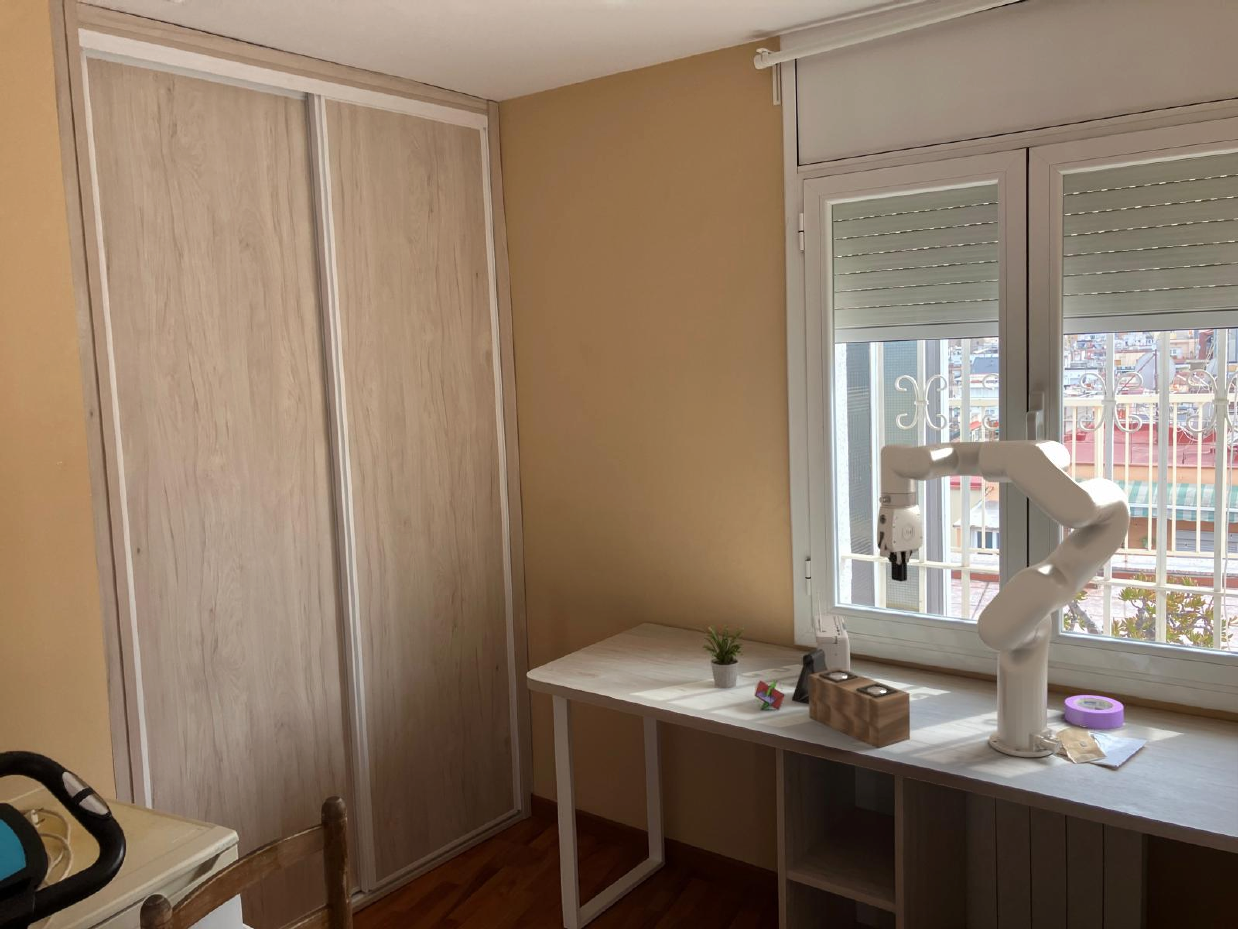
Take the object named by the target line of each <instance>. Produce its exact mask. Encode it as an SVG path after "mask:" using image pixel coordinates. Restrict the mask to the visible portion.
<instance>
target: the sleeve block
mask: <svg viewBox="0 0 1238 929" xmlns="http://www.w3.org/2000/svg"><path fill="white" fill-rule="evenodd" d="M831 673H845V674H847V675H848V677H847V678H843V679H839V680H837V679H834V678H832V677H829V675H830V674H831ZM808 679H809V704H808V716H809V718H810V719H811V720H815V721H817V722H818V723H822V724H823V725H825V726H828V727H830V728H833V729H834V730H837V731H838V732H841V733H843V734H846V735H848V736H850V737H853V738H855V739H857V740H859V741H861V742H863V743H866V744H868V745H871V746H873V747H875V748H877V749H881V748H884V747H887V746H891V745H894V744H898V743H900V742H905V741H907V740H910V739H911V731H910V730H911V724H910V723H911V718H910V717H911V716H910V714H911V712H910V707H911V706H910V703H911V702H910V701H911V700H910V693H909V692H906V691H905V690H901V689H899V688H895V687H893V686H890V685H889V684H888V685H887V684H884V683H882V682H879V681H877V680H874V679H871V678H868V677H865V676H863V675H859V674H857V673H854V672H851V671H850V672H849V671H847V670H844V669H841V668H835V669H831V670H827V671H823V672H818V673H814V674H810V675H808ZM870 687H882V688H885V689H886V690H887V692H884V693H881V694H877V695H876V694H874V693H871V692H869V691H867V689H868V688H870Z"/></svg>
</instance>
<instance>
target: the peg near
mask: <svg viewBox="0 0 1238 929" xmlns="http://www.w3.org/2000/svg"><path fill="white" fill-rule="evenodd" d="M867 691H869V692H871V693H874V694H876V695H877V694H881V693H884V692H887V690H886V689H885V688H882V687H870V688H868V689H867Z"/></svg>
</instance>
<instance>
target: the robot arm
mask: <svg viewBox="0 0 1238 929" xmlns="http://www.w3.org/2000/svg"><path fill="white" fill-rule="evenodd" d="M1070 465H1071V457H1070V454H1069V452H1068V449H1067V448H1066V447H1065V446H1064V445H1062V444H1061V443H1060V442H1057V441H1054V440H1050V439H1049V440H1048V439H1037V440H1036V439H1035V440H1034V439H1033V440H1031V439H1030V440H1029V439H1028V440H1026V439H1025V440H1024V439H1022V440H990V441H989V440H986V441H960V442H959V441H958V442H957V441H956V442H955V441H954V442H938V443H931V444H926V445H925V444H924V445H919V446H913V445H911V444H904V443H903V444H902V443H897V444H896V443H895V444H887V445H886V444H885V445H884V446H883V447H881V449H880V497H879V498H878V500H879V502H880V506H879V510H878V516H877V527H876V529H877V530H876V543H877V548H878V549H879V557H883V558H887V560H888V562H889V563H890V564H891V569H890V570H891V580H893V581H897V582H901V583H902V582H906V581H908V563H910V559H911V556H912V555H913V554H914V553H917V552H918V551H919V548H921V547H922V546H923V544H924V543H923V542H924V540H923V539H924V538H923V522H922V514H921V510H920V507H919V504H917V492H916V491H917V487H916V486H917V481H919V482H920V481H921V482H923V481H930V480H931V481H932V480H935V479H939V478H946V477H953V476H954V477H964V476H966V477H982V479H983V480H984V481H986V482H988V483H1013V485H1014V486H1015V487H1016V488H1017V489H1019V491H1020V492H1021V493H1023V495H1025V496H1026V497H1027V498H1028V499H1029V500H1030V501H1031V502H1032V503H1033V504H1035V506H1036V507H1038V508H1039V509H1040V510H1041V511H1042V512H1043V513H1044V514H1045V515H1046V516H1048V517H1049V519H1051V520H1052V521H1054V522H1055V523H1057V524H1058V525H1060V526H1061V527H1064V528H1066V529H1072V531H1070V533H1069V534H1068V535H1067V536H1066V537H1065V538H1064V539H1063V540H1062V541H1061V542H1060V543H1059V544H1058V546H1057V547H1056V548H1055V549H1054V550H1053V552H1051V553H1050V554H1049V556H1048V557H1047V558H1045V559H1044V560H1042V561H1041V562H1038V563H1035V564H1034V565H1030V566H1028V567H1025V568H1024V569H1022V570H1020V571H1018V572H1016V574H1014V575H1013V576H1012V577H1011V578H1010V579H1009V580H1008V581H1007V583H1006V584H1005V585H1004V586H1003V587H1002V588H1001V589H1000V590H999V592H997V593H996V595H995V596H993V598H992V599H991V601H990V602H989V603H988V604H987V605H986V606H985V607H984V609H983V610H982V611H981V613H980V615H979V617H978V620H977V624H976V630H977V635H978V637H979V640H980V642H981V643H982V644H983V645H984V646H985V647H986V648H988V649H989V650H990V651H994V652H997V653H998V654H997V670H996V671H997V672H996V674H997V678H996V679H997V680H996V682H997V683H996V684H997V686H996V688H997V690H996V691H997V692H996V693H997V694H996V697H997V698H996V699H997V701H996V704H997V705H996V706H997V707H996V708H997V710H996V713H997V714H996V716H997V718H996V720H997V722H996V726H997V727H996V729H997V731H995V732H992V733H991V735H989V738H988V739H989V741H988V742H989V745H990V747H992V748H993V749H995V750H996V751H998V752H1000V753H1003V754H1006V755H1009V756H1015V757H1021V758H1041V757H1046V756H1049V755H1051V754H1052V753H1054V754H1057V753H1059V752H1060V750H1061V747H1062V745H1063V741H1062V740H1061V739H1058V738H1055V737H1053V736H1052V734H1053V733H1052V728H1050V727H1048V662H1049V661H1048V660H1049V659H1048V658H1049V647H1050V641H1051V640H1050V639H1051V634H1052V628H1053V627H1052V626H1053V625H1052V624H1053V621H1052V615H1051V614H1052V613H1054V612H1055V611H1058V610H1061V609H1063V608H1065V607H1067V606H1068V605H1070V604H1071V603H1073V601H1074V600H1075V599H1076V597H1077V596H1078V595H1079V594H1080V593H1081V591H1082V590H1083V589H1085V587H1086V586H1087V585H1088V584H1089V582H1091V581H1092V579H1094V578H1095V576H1096V575H1097V574H1098V573H1099V572H1100V571H1101V569H1102V568H1103V567H1104V566H1105V565H1106V564H1107V563H1108V562H1109V560H1110V559H1112V558H1113V557H1114V555H1115V553H1116V552H1118V550H1119V548H1120V547H1121V546H1122V544H1123V542H1124V541H1125V539H1126V537H1127V534H1128V532H1129V529H1130V524H1131V508H1130V505H1129V501H1128V498H1127V496H1126V494H1125V493H1124V491H1123V490H1122V489H1121V487H1119V485H1118V484H1116V483H1114V482H1113V481H1111V480H1109V479H1105V478H1088V479H1084V480H1083V479H1082V480H1081V481H1075V480H1074V479H1073V478H1072V477H1070V475H1069V474H1067V472H1068V470H1069V468H1070Z"/></svg>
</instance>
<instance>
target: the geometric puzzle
mask: <svg viewBox="0 0 1238 929" xmlns="http://www.w3.org/2000/svg"><path fill="white" fill-rule="evenodd" d="M777 683H778V685H779V688H780V690H782V687H781V685H780V684H781V683H780V682H779V680H775V681H774V682H773V683H771V684H769V683H768V684H767V683H766V682H764V681H763V680H759V681H758V682H757V683H756V685H755V686H754V696H755V700H757V704H758V706H759V708H760V711H763V710H765V709H766V708H767V707H769V706H771V707H772V708H774V709H775V710H777V711H780V708H781V706H782V703H783V700H784V697H785V695H786V694H785V693H784V692H782V691H780V690H778V689H776V687H777ZM758 699H759V700H760V701H763V703H762V706H760V704H759V701H758Z"/></svg>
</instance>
